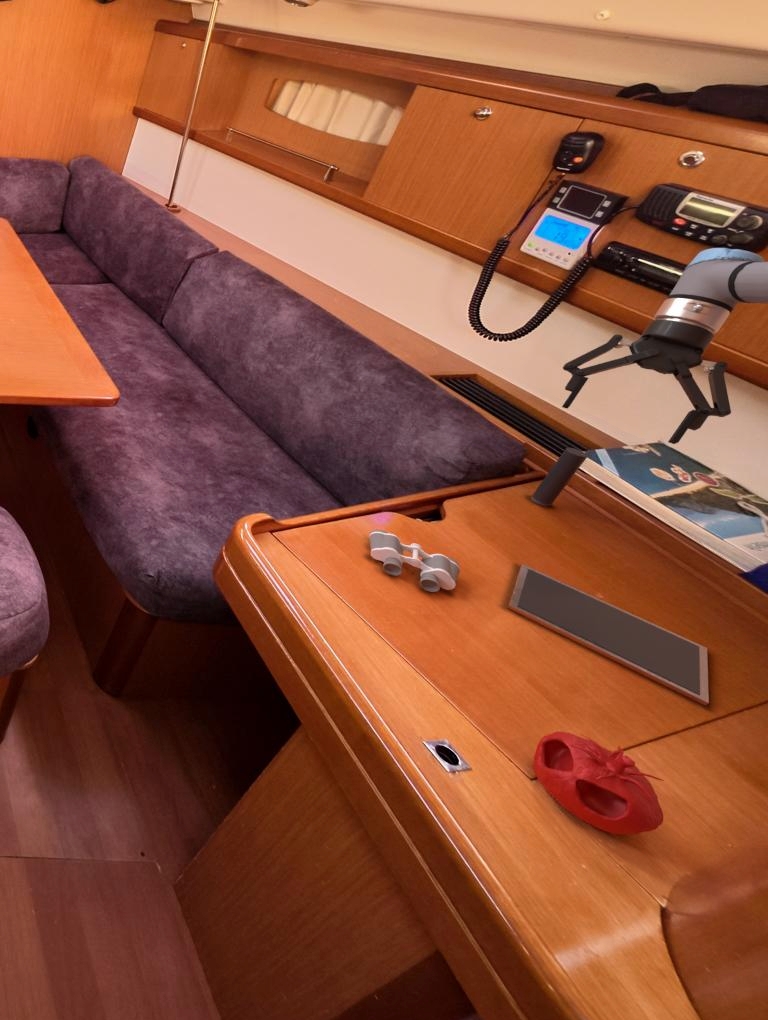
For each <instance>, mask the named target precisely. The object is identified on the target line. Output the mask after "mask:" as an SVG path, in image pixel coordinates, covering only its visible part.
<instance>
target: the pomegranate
mask: <svg viewBox="0 0 768 1020" xmlns="http://www.w3.org/2000/svg"><path fill="white" fill-rule="evenodd" d="M581 736H582V737H581ZM532 769H533V772H534V774H535V777H536V779H537V780H538V782H539V784H540V785H541V786H542V787H543V788H544V789H545V790H546V791H547V793H548V794H550V796H551V797H552V798H554V799H555V800H556V801H557V802H558V803H559V804H560V805H561V806H562V807H563V808H564V809H565V810H567V811H568V812H570V814H572V815H573V816H574V817H576V818H577V819H579V820H580V821H582V822H584V823H586V824H588V825H591V826H592V827H594V828H596V829H598V830H601V831H603V832H607V833H609V834H613V835H639V834H642V833H648V832H652V831H654V830H655V831H656V830H657V829H658V828H659V826H661V825H662V824H663V822H664V812H663V809H662V807H661V805H660V802H659V798H658V796H657V793H656V792H655V789H654V787H653V785H652V783H651V782H650V781H649V779H648V778H647V777H649V778H652V779H655V780H658V781H662V782H663V781H665V779H662V778H658V777H656V776H654V775H652V774H649V773H644V772H641V770H639V768H638V767H637V766H636V761H635V760H633V759H632V758H630V757H629V756H628V755H624V750H623V749H622V748H621V746H620V745H618V747H617V750H615V751H612V750H611V749H610V750H609V749H608V748H606V747H604V746H602V745H600V744H599V743H597V742H596V741H595V740H593V739H592V738H590V737H588V736H586V735H584V734H582V733H580V736H578V735H577V734H574V733H571V732H566V731H556V732H551V733H549V734H546V735H544V736H542V737H541V739H540V740H539V742H538V744H537V745H536V748H535V752H534V756H533V763H532Z"/></svg>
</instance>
